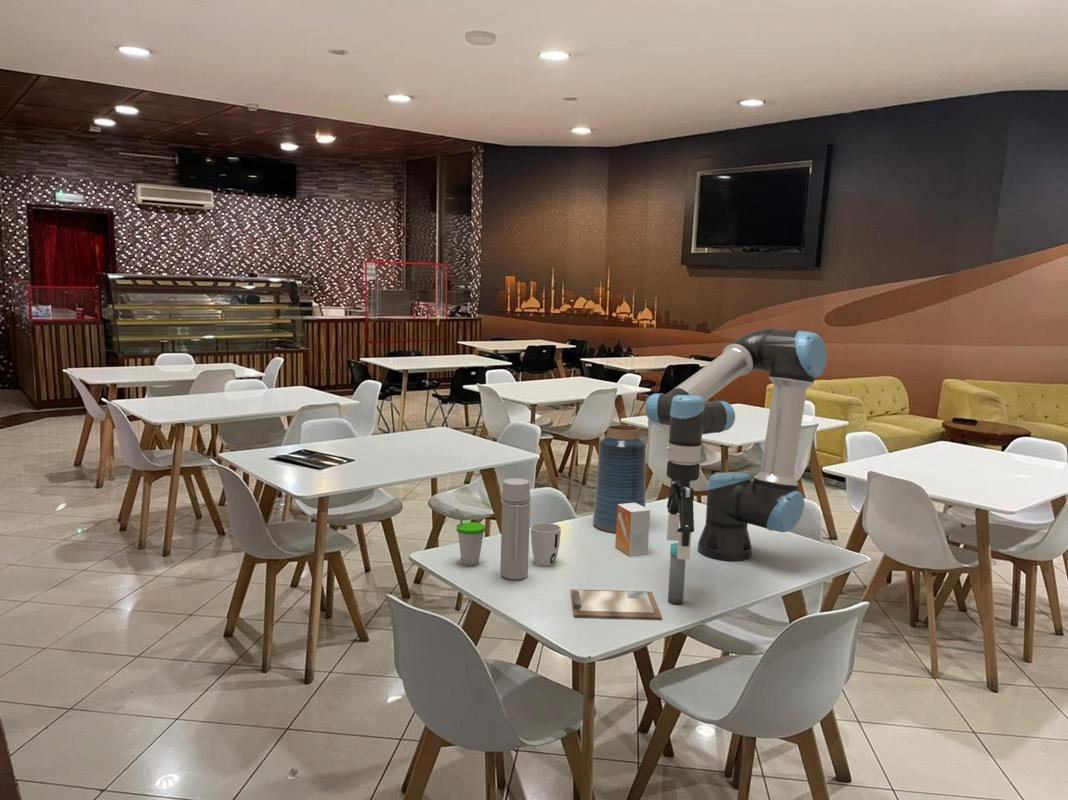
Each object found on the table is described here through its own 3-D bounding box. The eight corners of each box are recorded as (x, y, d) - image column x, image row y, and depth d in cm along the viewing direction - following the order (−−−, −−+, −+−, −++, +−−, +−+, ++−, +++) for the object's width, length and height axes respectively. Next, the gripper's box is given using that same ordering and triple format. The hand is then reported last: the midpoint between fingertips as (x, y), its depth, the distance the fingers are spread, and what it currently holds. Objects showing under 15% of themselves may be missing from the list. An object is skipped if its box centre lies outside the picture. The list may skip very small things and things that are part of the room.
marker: (681, 598, 188) (685, 543, 186) (684, 605, 184) (688, 548, 182) (666, 598, 188) (669, 543, 186) (668, 604, 184) (672, 548, 182)
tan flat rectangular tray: (651, 593, 190) (652, 587, 190) (661, 619, 176) (662, 613, 175) (570, 591, 190) (570, 585, 190) (573, 617, 175) (574, 610, 175)
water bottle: (498, 570, 203) (500, 477, 199) (528, 570, 203) (531, 478, 200) (499, 584, 194) (502, 486, 190) (531, 584, 194) (534, 487, 191)
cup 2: (556, 569, 205) (558, 533, 203) (526, 566, 206) (528, 530, 205) (561, 559, 213) (563, 524, 211) (533, 556, 214) (534, 521, 213)
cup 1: (490, 564, 208) (492, 509, 205) (469, 571, 202) (470, 515, 200) (471, 556, 213) (472, 503, 211) (449, 563, 207) (450, 509, 205)
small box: (614, 547, 224) (616, 503, 222) (633, 545, 226) (636, 502, 225) (628, 556, 217) (631, 511, 215) (648, 554, 219) (650, 509, 217)
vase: (586, 519, 250) (590, 423, 246) (633, 517, 254) (638, 422, 250) (602, 535, 235) (607, 433, 230) (652, 533, 238) (658, 432, 234)
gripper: (658, 450, 193) (653, 532, 196) (677, 473, 169) (671, 566, 171) (688, 451, 193) (683, 533, 196) (712, 474, 169) (705, 568, 172)
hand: (677, 549), depth 184 cm, fingers open, 13 cm apart
